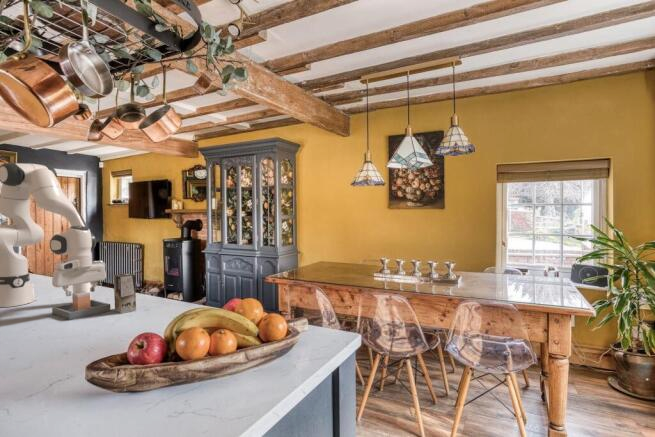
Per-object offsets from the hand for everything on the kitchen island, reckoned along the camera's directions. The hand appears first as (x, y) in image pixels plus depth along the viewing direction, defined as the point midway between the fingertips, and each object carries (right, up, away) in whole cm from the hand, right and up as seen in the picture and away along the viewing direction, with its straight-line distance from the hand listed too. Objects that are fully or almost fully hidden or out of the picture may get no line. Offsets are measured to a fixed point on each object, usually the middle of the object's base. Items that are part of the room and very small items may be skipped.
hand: (80, 293), depth 159 cm
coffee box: (+18, -8, +3) cm, 20 cm away
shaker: (+1, -8, 0) cm, 8 cm away
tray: (0, -8, 0) cm, 8 cm away
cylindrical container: (-11, -8, +17) cm, 22 cm away
